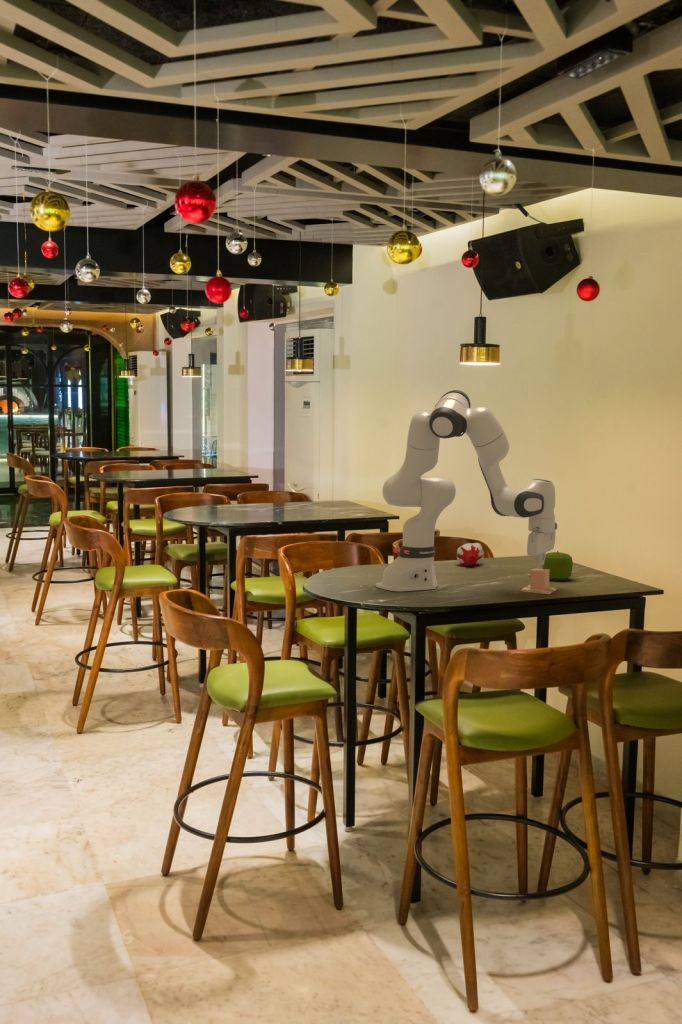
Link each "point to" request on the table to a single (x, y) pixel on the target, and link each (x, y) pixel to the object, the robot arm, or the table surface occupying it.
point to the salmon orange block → (539, 579)
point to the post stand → (548, 591)
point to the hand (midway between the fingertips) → (540, 565)
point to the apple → (558, 565)
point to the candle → (470, 554)
